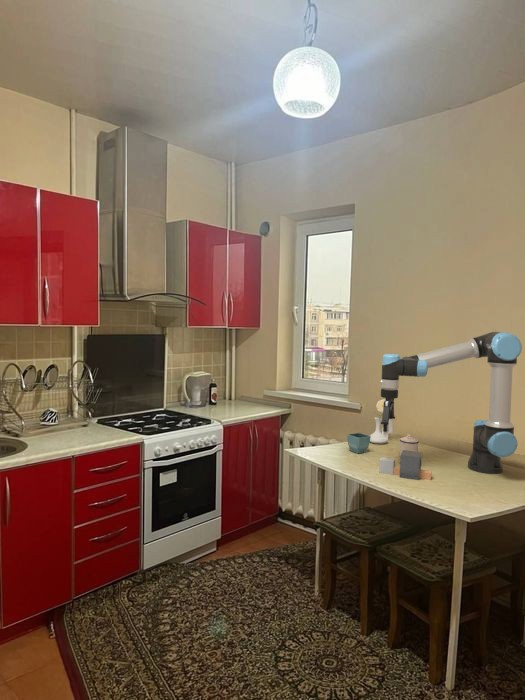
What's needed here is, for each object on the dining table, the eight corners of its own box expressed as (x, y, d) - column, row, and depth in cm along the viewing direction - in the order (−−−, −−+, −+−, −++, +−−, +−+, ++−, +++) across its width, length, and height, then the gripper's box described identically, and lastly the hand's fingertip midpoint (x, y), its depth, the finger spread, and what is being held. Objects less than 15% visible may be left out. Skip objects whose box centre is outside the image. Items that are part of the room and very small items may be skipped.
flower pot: (370, 453, 259) (371, 436, 258) (358, 455, 254) (359, 437, 253) (358, 449, 266) (358, 432, 266) (345, 451, 261) (346, 434, 261)
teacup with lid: (421, 459, 250) (422, 436, 249) (404, 460, 248) (406, 436, 247) (409, 453, 261) (410, 431, 261) (393, 453, 259) (394, 431, 259)
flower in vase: (363, 442, 281) (365, 398, 280) (372, 439, 290) (374, 396, 288) (384, 446, 273) (386, 401, 271) (394, 443, 281) (396, 398, 280)
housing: (420, 474, 226) (421, 452, 225) (418, 480, 217) (419, 457, 217) (402, 471, 229) (403, 449, 228) (399, 477, 220) (400, 454, 220)
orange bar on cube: (431, 477, 222) (432, 463, 222) (430, 480, 218) (431, 466, 217) (381, 469, 231) (381, 457, 230) (379, 472, 226) (379, 459, 226)
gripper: (385, 384, 238) (383, 429, 239) (376, 391, 215) (373, 440, 216) (401, 386, 235) (399, 431, 236) (394, 393, 212) (391, 442, 213)
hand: (387, 435), depth 226 cm, fingers open, 13 cm apart
